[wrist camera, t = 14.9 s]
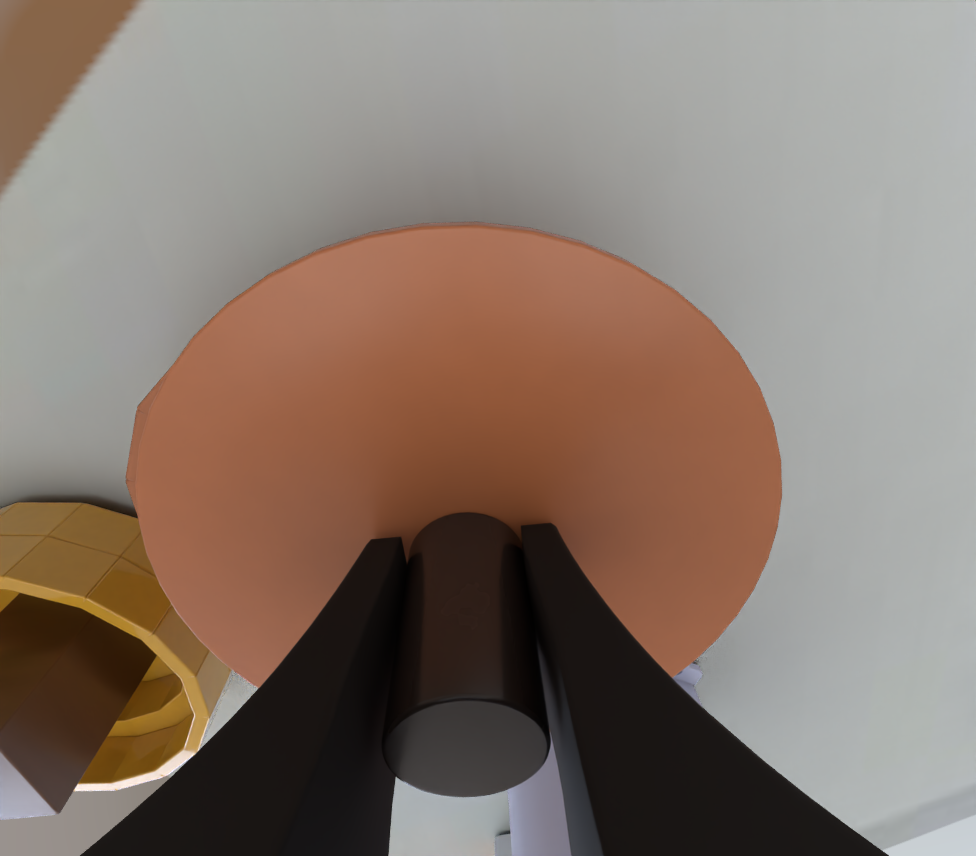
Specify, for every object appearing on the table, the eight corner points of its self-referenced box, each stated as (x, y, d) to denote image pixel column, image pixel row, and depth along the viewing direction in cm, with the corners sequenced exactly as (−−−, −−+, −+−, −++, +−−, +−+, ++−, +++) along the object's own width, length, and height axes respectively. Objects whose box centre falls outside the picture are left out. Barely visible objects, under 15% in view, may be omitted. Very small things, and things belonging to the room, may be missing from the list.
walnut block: (127, 573, 22) (-8, 740, 16) (165, 642, 24) (59, 815, 18) (28, 583, 22) (-146, 753, 16) (75, 651, 24) (-63, 826, 18)
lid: (887, 391, 11) (1195, 567, 6) (574, 746, 16) (617, 979, 11) (242, 61, 8) (-76, -67, 3) (124, 631, 13) (-59, 886, 8)
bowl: (278, 549, 22) (236, 636, 18) (220, 716, 27) (178, 813, 23) (-49, 451, 19) (-183, 529, 15) (-46, 657, 24) (-146, 755, 20)
